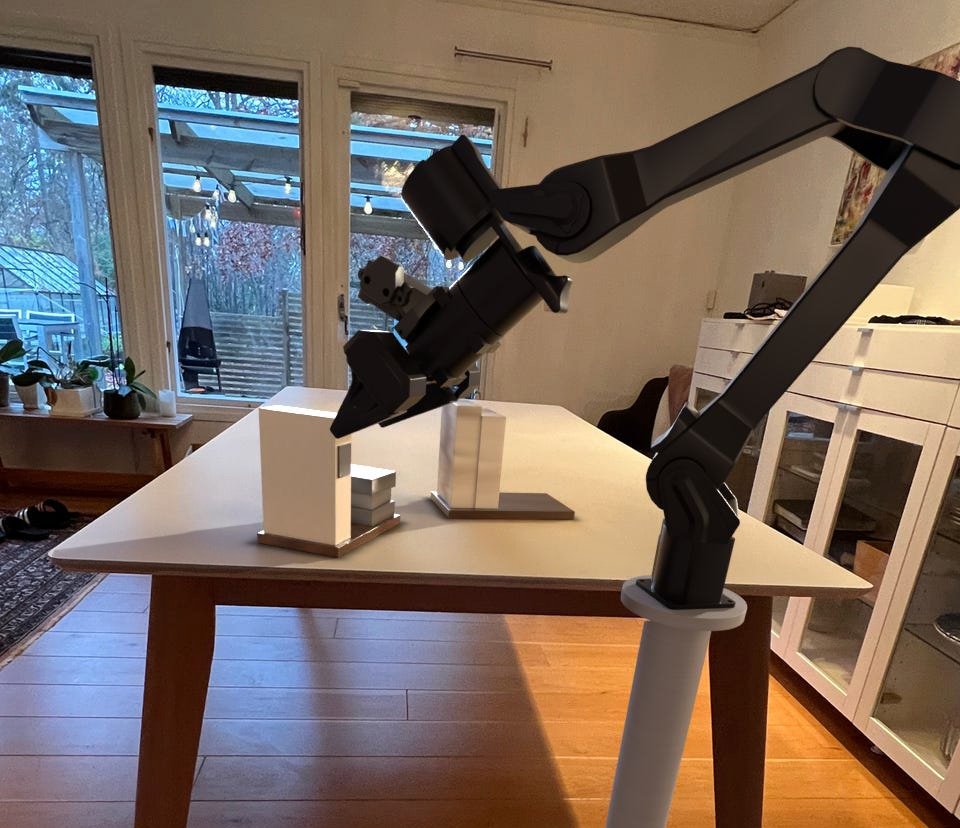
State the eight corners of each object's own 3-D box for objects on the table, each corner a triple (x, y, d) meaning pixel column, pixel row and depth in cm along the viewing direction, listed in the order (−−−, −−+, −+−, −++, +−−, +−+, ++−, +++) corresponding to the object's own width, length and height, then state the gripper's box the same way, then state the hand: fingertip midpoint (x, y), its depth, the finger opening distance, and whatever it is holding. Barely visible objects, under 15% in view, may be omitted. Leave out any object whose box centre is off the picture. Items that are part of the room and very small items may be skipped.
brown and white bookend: (574, 519, 91) (588, 413, 86) (448, 518, 87) (455, 406, 81) (545, 500, 100) (557, 403, 95) (430, 498, 95) (436, 396, 90)
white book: (352, 538, 72) (353, 415, 68) (337, 546, 70) (337, 418, 65) (281, 525, 74) (277, 405, 70) (263, 532, 72) (258, 407, 67)
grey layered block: (400, 523, 83) (402, 470, 80) (338, 557, 70) (338, 495, 67) (330, 511, 85) (330, 459, 83) (257, 542, 72) (254, 481, 69)
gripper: (458, 239, 66) (349, 354, 73) (370, 205, 50) (240, 358, 57) (531, 339, 68) (416, 443, 75) (468, 338, 51) (329, 471, 58)
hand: (357, 428), depth 66 cm, fingers open, 9 cm apart
